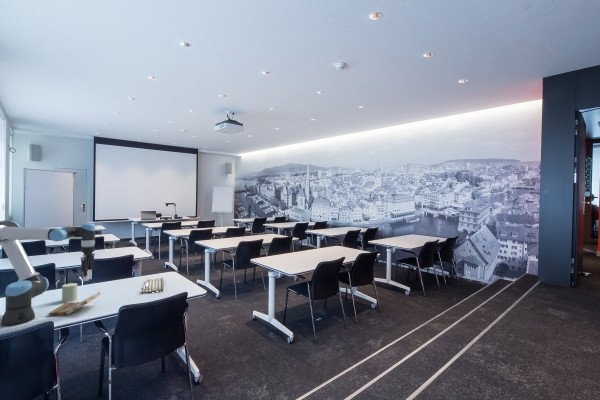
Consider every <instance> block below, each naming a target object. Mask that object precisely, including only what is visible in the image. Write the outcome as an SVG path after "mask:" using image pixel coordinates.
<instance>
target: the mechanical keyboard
mask: <svg viewBox="0 0 600 400" xmlns="http://www.w3.org/2000/svg"><path fill="white" fill-rule="evenodd" d="M164 280H165V279H164V277H159V278H153V279H150V278H149V279H146V281H145V283H146V286H145V289H142V288H141V291H142V292H141V291H140V294H141V293H142V294H141V295H144V294H143V293H149V294H150V293H151V294H153V293H152V292H156V291H163V290H164Z"/></svg>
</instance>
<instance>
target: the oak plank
mask: <svg viewBox="0 0 600 400" xmlns="http://www.w3.org/2000/svg"><path fill="white" fill-rule="evenodd" d="M101 294H102V293H101V292H100V291H98V292H96V293H94V294H93V295H91V296H89V297H87V298H86V299H84V300H82V301H79V302H80V303H78V304H77V305H75V306H74V307H72V308H71V309H69V310H68V311H66V315H69V314H71V313H73V312H74V311H76V310H78V309H80V308H81V307H83V306H86V305H87V304H89V303H90V302H92V301H93V300H94V299H96V298H98V297H99V296H100V295H101Z"/></svg>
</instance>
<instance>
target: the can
mask: <svg viewBox="0 0 600 400" xmlns="http://www.w3.org/2000/svg"><path fill="white" fill-rule="evenodd" d="M61 289H62V290H61V303H73V302H75V301H77V300H78V283H76V282H75V283H74V282H71V283H70V282H69V283H65V284H63V285H61Z"/></svg>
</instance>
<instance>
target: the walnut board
mask: <svg viewBox="0 0 600 400" xmlns="http://www.w3.org/2000/svg"><path fill="white" fill-rule="evenodd" d="M80 302H81V301H77V302H75V301H72V302H64V303H63V304H61V305H60V306H58V307H56V308H55V309H53V310H51V311H50V312H49V313H48V316H49V317H57V316H59V317H60V316H61V317H62V316H66V315H67V314H66V311H68V310H69V309H71V308H72V307H74V306H75V305H77V304H78V303H80Z"/></svg>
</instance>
